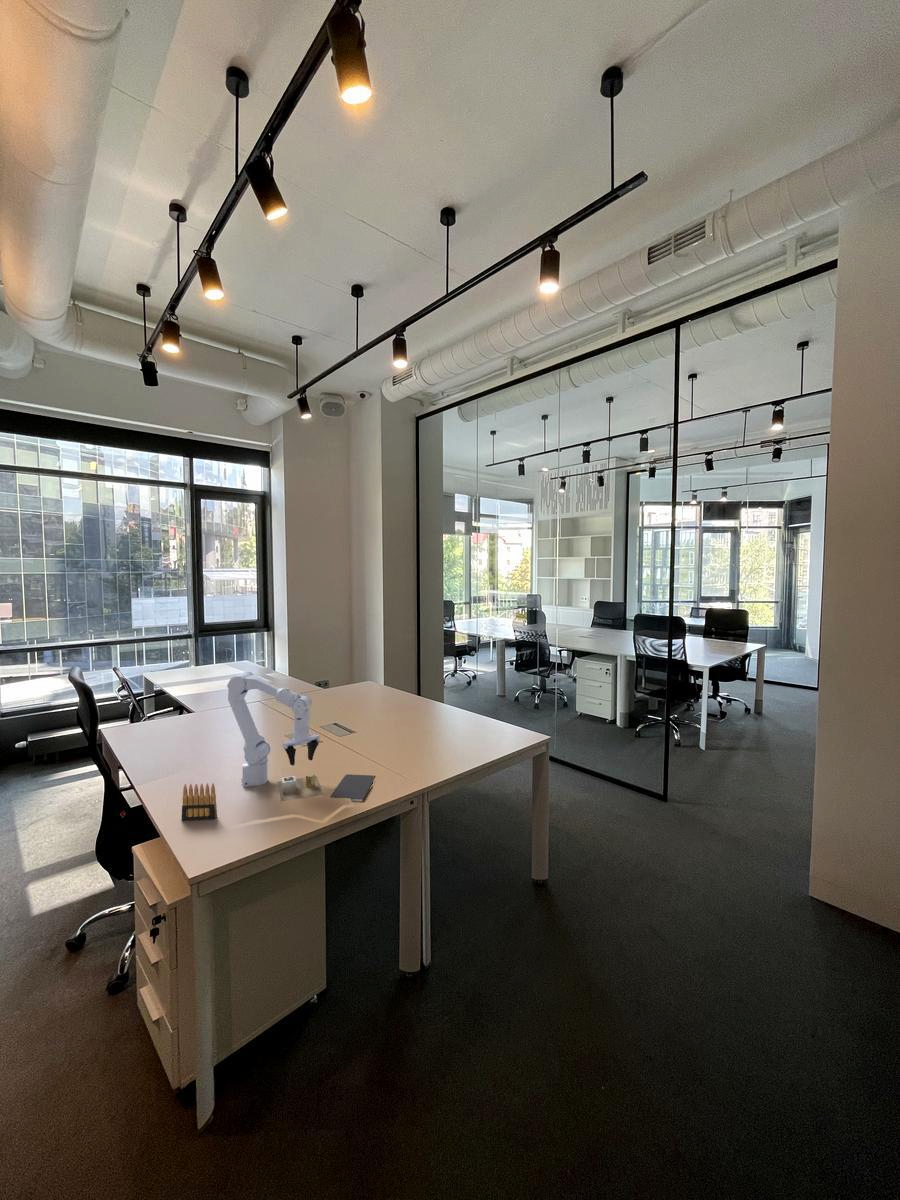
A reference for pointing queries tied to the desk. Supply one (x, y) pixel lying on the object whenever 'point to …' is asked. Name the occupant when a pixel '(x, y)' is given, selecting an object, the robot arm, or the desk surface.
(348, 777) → the notebook
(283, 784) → the steel collar
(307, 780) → the pale yellow square peg
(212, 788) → the ammunition clip
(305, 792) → the tan board
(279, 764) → the desk surface
